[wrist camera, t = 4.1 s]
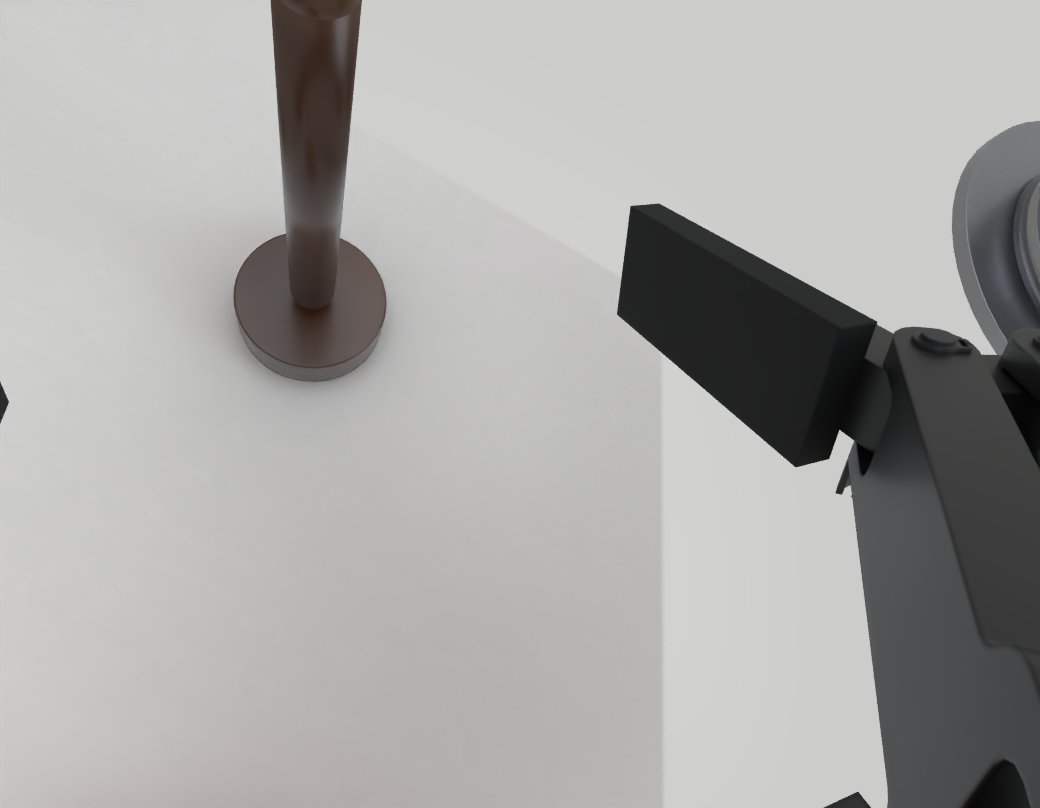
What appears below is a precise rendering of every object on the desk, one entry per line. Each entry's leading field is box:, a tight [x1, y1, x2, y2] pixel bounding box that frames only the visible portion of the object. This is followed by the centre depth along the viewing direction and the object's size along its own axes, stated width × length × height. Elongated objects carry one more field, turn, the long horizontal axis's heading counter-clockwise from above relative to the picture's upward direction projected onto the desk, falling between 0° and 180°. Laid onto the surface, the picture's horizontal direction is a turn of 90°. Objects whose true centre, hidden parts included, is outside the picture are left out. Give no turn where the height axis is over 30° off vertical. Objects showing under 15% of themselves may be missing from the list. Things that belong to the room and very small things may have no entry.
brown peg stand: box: [234, 0, 386, 382], centre depth 20 cm, size 6×6×18 cm
